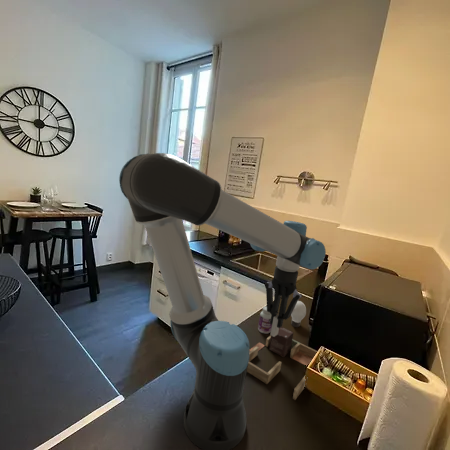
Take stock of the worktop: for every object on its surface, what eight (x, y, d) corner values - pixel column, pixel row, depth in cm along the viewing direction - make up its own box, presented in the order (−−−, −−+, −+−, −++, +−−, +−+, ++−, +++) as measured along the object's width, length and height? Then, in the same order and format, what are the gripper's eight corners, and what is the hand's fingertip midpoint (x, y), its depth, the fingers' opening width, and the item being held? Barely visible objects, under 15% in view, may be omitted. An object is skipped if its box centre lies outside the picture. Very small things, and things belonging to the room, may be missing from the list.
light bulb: (292, 319, 120) (296, 296, 119) (306, 326, 116) (310, 302, 114) (284, 323, 115) (288, 300, 114) (298, 331, 111) (302, 306, 109)
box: (290, 350, 97) (294, 332, 96) (283, 357, 92) (287, 338, 91) (276, 343, 100) (279, 325, 99) (268, 349, 96) (271, 331, 95)
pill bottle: (260, 334, 105) (264, 311, 103) (255, 327, 110) (259, 305, 108) (273, 333, 106) (276, 311, 105) (267, 326, 111) (270, 305, 110)
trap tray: (294, 401, 73) (295, 392, 73) (232, 362, 86) (234, 354, 86) (322, 362, 92) (324, 354, 92) (269, 335, 105) (270, 328, 105)
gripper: (310, 272, 86) (296, 339, 89) (274, 261, 93) (263, 322, 97) (301, 276, 80) (286, 348, 83) (264, 263, 87) (252, 329, 91)
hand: (274, 334), depth 90 cm, fingers closed
